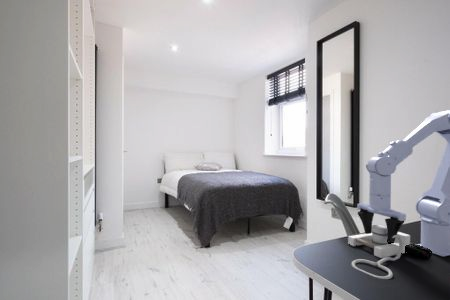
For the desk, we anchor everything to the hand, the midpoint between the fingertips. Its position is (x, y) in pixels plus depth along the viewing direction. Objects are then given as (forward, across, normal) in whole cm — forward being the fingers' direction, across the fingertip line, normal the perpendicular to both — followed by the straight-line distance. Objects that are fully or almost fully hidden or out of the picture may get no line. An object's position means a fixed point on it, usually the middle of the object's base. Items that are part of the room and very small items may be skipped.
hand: (379, 237), depth 77 cm
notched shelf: (+3, 0, 0) cm, 3 cm away
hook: (+4, +8, -9) cm, 13 cm away
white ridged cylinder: (+3, 0, 0) cm, 3 cm away
